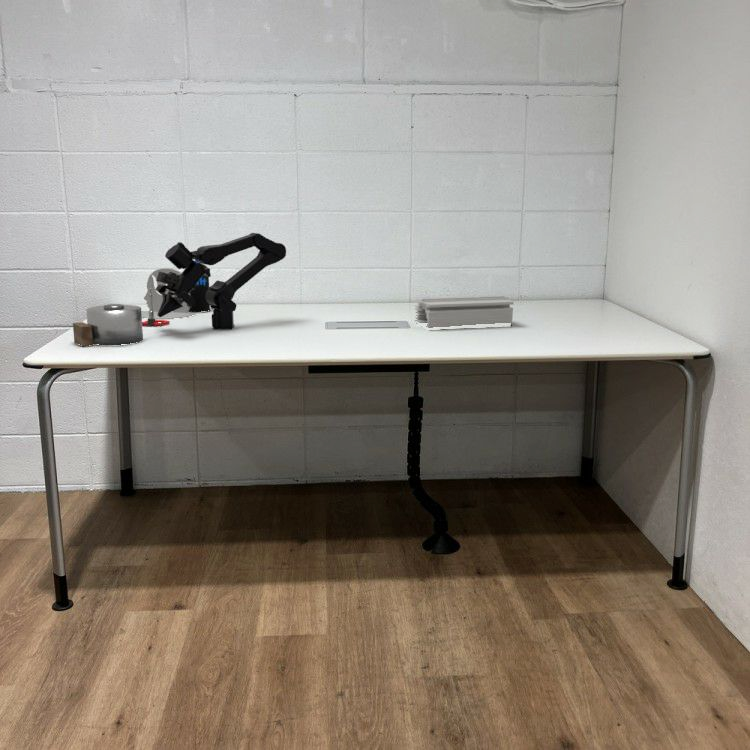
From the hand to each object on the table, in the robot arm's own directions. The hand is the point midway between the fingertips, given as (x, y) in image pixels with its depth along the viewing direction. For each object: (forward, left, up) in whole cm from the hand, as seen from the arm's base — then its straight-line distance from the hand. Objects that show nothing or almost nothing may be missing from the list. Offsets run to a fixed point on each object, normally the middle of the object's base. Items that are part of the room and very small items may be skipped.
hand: (158, 316), depth 253 cm
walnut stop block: (+20, +14, -6) cm, 25 cm away
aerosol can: (-4, -48, -6) cm, 49 cm away
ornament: (+7, -36, -7) cm, 37 cm away
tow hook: (+6, -20, -7) cm, 22 cm away
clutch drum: (+12, +8, -6) cm, 16 cm away
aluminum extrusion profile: (-100, -19, -7) cm, 102 cm away
